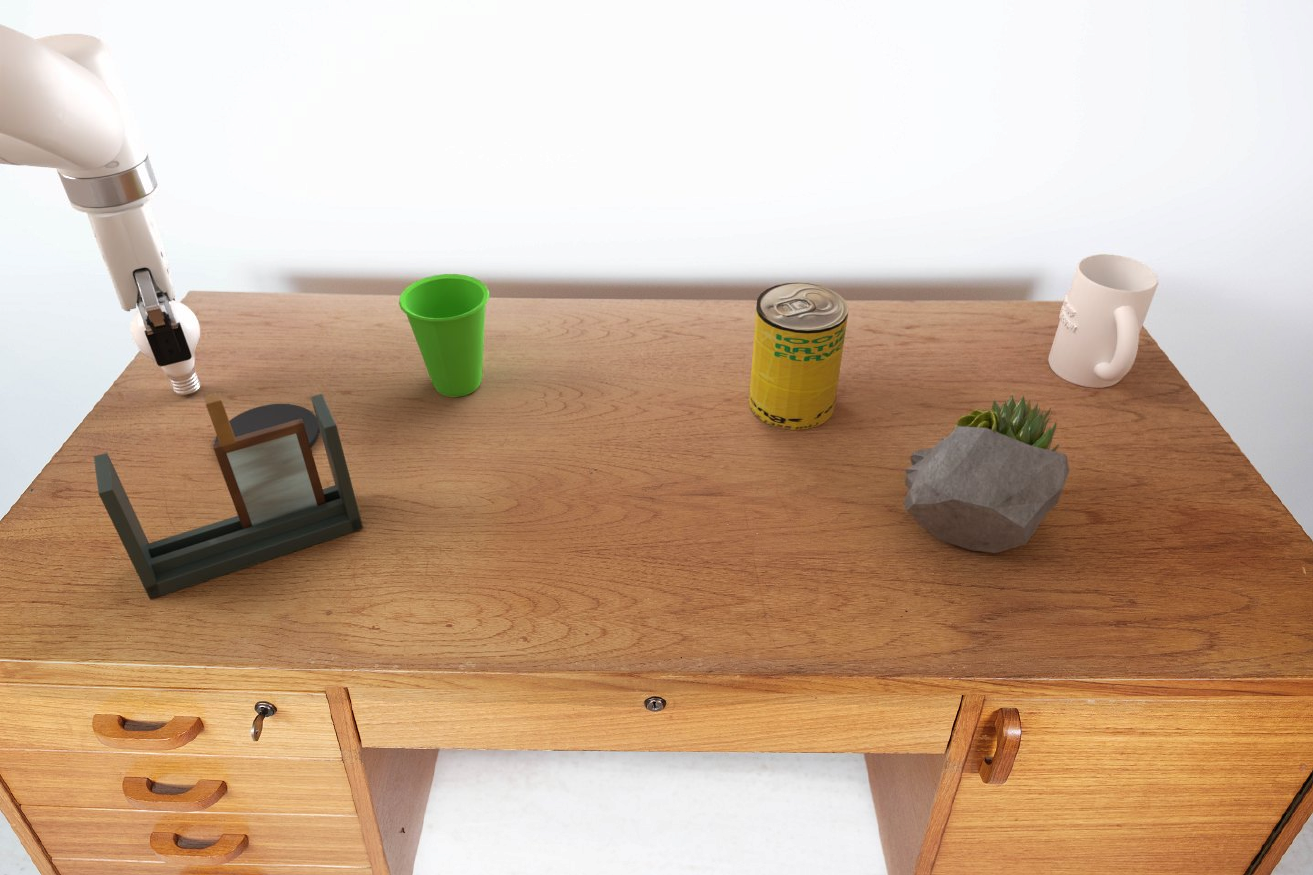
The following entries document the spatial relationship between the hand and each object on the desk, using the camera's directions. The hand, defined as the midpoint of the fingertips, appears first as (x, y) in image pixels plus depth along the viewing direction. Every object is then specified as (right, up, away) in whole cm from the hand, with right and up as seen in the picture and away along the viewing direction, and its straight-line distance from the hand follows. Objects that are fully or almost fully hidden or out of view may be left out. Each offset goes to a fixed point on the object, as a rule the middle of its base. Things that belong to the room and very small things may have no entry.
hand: (169, 337), depth 99 cm
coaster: (+11, -10, -2) cm, 15 cm away
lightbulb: (0, -6, +4) cm, 7 cm away
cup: (+29, -5, +6) cm, 29 cm away
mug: (+98, -4, +7) cm, 98 cm away
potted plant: (+79, -18, -10) cm, 82 cm away
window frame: (+15, -20, -13) cm, 28 cm away
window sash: (+17, -18, -13) cm, 28 cm away
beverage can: (+64, -7, +3) cm, 65 cm away
